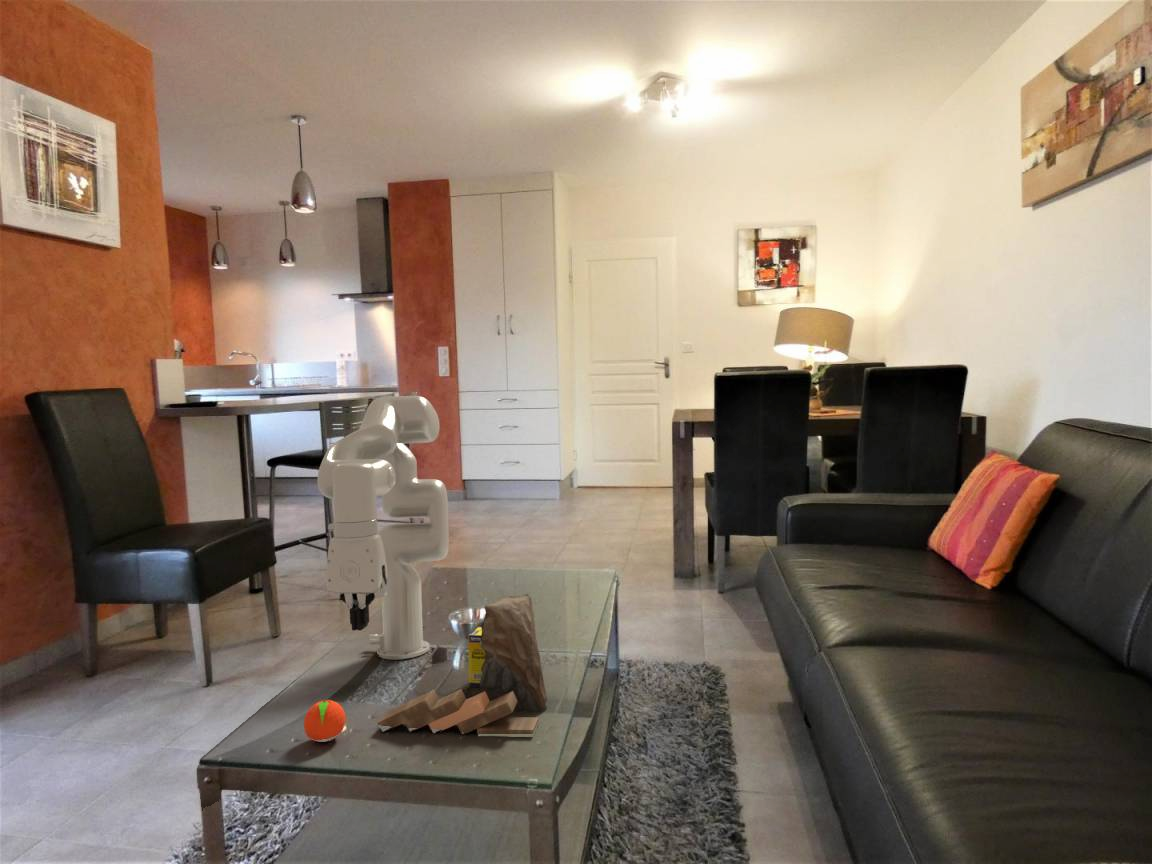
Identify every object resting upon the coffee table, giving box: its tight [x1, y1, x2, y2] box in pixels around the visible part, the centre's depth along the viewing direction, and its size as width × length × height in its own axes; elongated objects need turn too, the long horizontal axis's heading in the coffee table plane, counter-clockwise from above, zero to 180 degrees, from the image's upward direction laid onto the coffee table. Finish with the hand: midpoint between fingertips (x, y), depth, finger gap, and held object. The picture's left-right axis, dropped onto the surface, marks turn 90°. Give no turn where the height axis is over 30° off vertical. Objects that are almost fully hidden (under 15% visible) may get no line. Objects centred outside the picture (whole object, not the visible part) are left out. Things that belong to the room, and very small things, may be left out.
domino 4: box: [456, 691, 517, 734], centre depth 119 cm, size 2×5×10 cm
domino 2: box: [404, 688, 467, 729], centre depth 120 cm, size 2×5×10 cm
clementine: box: [303, 699, 347, 740], centre depth 116 cm, size 8×7×7 cm
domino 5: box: [476, 716, 539, 735], centre depth 118 cm, size 2×5×10 cm
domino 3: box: [428, 691, 490, 731], centre depth 120 cm, size 2×5×10 cm
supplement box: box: [467, 626, 485, 688], centre depth 142 cm, size 6×6×11 cm
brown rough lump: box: [480, 593, 548, 713], centre depth 132 cm, size 13×13×20 cm
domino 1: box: [376, 689, 440, 728], centre depth 121 cm, size 2×5×10 cm
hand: (360, 627), depth 123 cm, fingers closed
